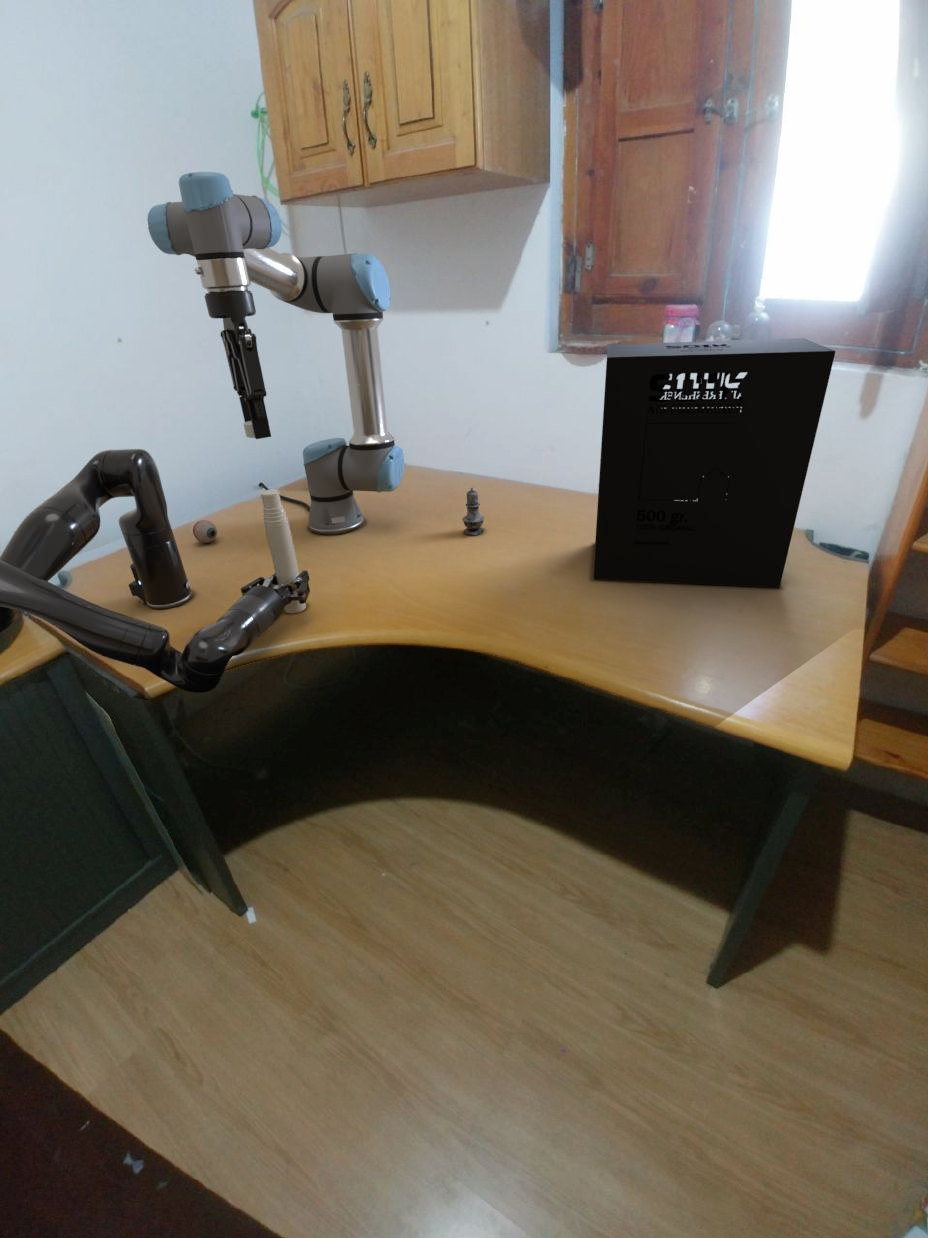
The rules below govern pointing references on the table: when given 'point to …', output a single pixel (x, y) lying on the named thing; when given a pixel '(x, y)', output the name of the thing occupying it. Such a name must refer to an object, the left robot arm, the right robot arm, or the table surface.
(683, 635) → the table surface
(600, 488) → the cardboard box
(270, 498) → the bottle
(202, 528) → the eyeball
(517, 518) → the table surface
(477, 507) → the salt shaker
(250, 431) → the cap
